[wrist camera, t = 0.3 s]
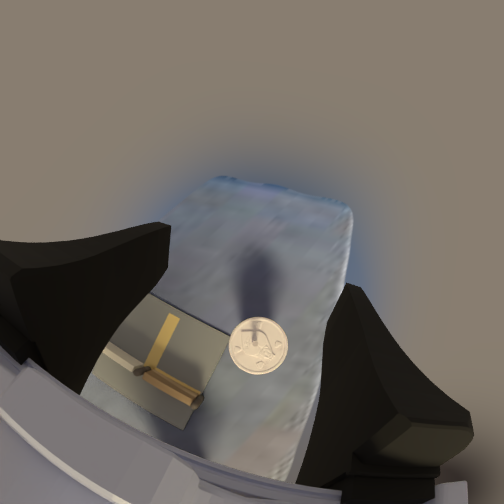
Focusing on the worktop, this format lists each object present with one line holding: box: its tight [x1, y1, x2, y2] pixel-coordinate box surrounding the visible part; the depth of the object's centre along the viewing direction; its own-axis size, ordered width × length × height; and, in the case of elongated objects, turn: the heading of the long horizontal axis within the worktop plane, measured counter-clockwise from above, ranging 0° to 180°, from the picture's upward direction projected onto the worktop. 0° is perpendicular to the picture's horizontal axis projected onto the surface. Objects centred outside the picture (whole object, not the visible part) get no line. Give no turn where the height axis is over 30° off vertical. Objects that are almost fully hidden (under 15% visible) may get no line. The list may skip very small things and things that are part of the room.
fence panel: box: [103, 341, 144, 372], centre depth 36 cm, size 8×1×4 cm, turn 64°
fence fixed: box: [133, 366, 204, 409], centre depth 35 cm, size 1×10×5 cm, turn 64°
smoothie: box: [229, 317, 288, 374], centre depth 32 cm, size 6×6×14 cm
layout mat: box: [92, 293, 230, 430], centre depth 38 cm, size 16×16×1 cm
